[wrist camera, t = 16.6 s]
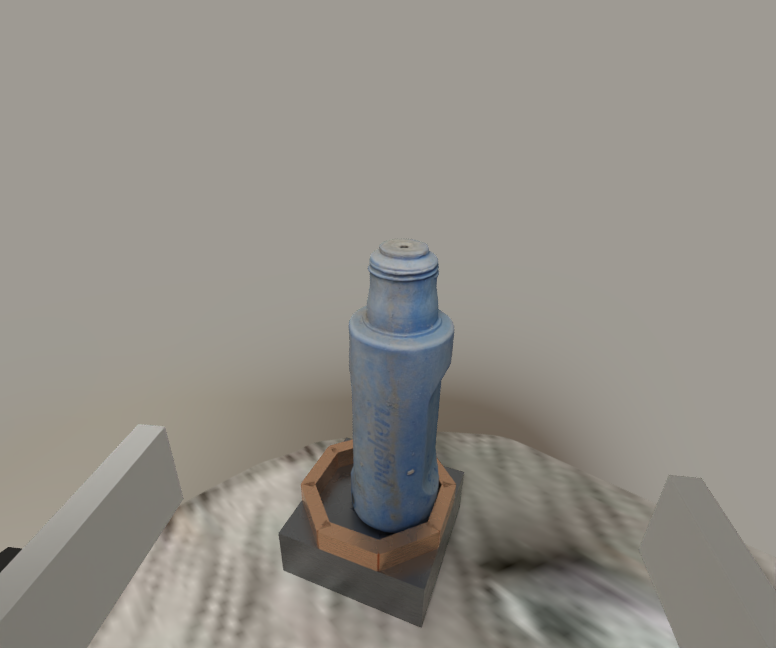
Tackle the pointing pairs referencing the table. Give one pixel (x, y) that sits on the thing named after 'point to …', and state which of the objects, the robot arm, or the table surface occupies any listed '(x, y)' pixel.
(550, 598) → the table surface
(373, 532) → the copper and grey block
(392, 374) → the bottle
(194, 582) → the table surface
